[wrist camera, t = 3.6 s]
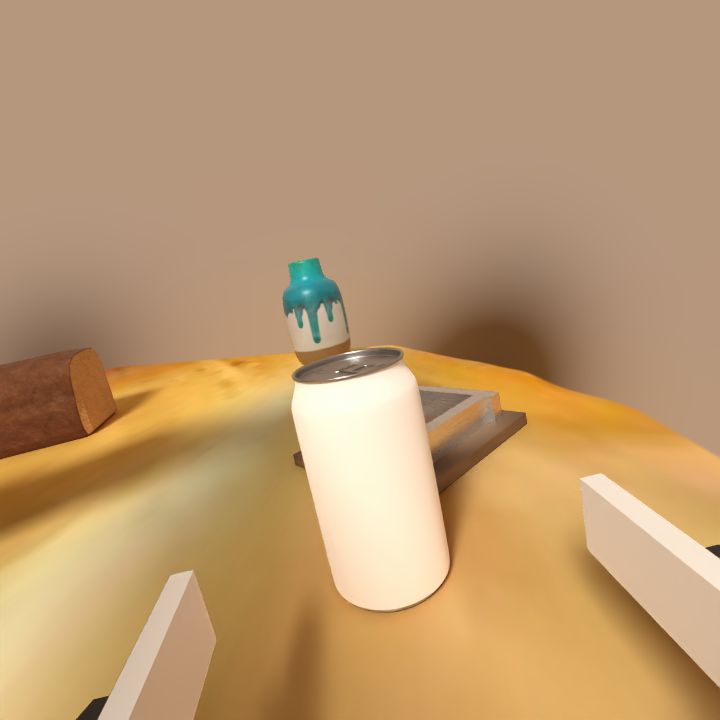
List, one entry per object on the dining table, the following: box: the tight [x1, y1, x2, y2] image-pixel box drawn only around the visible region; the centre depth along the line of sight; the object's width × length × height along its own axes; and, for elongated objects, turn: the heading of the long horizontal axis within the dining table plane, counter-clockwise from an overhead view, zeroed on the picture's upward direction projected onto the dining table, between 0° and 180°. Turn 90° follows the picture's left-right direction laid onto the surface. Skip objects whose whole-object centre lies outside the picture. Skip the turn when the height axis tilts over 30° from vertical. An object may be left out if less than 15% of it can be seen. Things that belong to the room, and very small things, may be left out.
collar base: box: [293, 410, 527, 494], centre depth 40 cm, size 15×15×1 cm
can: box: [291, 347, 450, 612], centre depth 23 cm, size 6×6×12 cm
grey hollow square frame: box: [418, 386, 503, 463], centre depth 40 cm, size 13×11×2 cm
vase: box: [283, 258, 350, 365], centre depth 78 cm, size 11×11×19 cm
